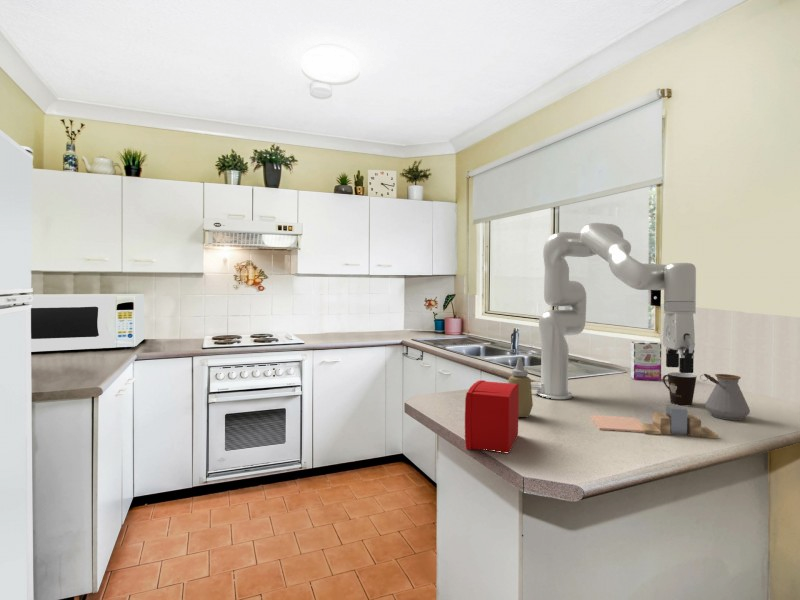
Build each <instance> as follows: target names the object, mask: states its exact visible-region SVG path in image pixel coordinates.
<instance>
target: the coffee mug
mask: <svg viewBox="0 0 800 600" xmlns="http://www.w3.org/2000/svg"><path fill="white" fill-rule="evenodd" d="M666 378H667V380H668V383H667V382H666ZM696 381H697V375H696V374H694V373H680V372H668V373H667V374H665V375H663V377H662V382H663V384H664V386H665V387H666V388H667V389H668V391H669V398H670V403H671V404H673V403H674V404H673V405H676V404H678V405H677V406H683V405H690V406H693V400H694V394H695V391H696V390H695V388H696Z"/></svg>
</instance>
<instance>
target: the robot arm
mask: <svg viewBox="0 0 800 600" xmlns="http://www.w3.org/2000/svg"><path fill="white" fill-rule="evenodd" d="M542 249H543V252H542V254H543V255H542V257H543V264H544V280H543V281H544V282H543V298H544V301H545V304H546V305H548V306H550V307H564V309H552V310H547V311H545V312H543V313H542V314H541V315H540V317H539V319H538V327H539V332H540V340H541V341H540V342H541V345H540V347H541V348H540V349H541V350H540V353H541V355H540V356H541V357H540V358H541V360H540V361H541V362H540V369H541V370H540V380H539V382H536V383H531V390H535V391H536V393H537V394H538V395H540V396H542V397H541V398H543V397H546V398H545V399H549V398H551V399H550V400H569V399H571V398H573V393H572V392H571V391H569V355H570V354H569V344H568V342H567V340H566V338H565V337H566V336H575V335H577V336H578V335H579V334H580V333H582V332H583V331H584V329H585V326H586V321H587V320H586V319H587V317H586V316H587V292H586V289H585V287H584V285H583V284H582V283H581V282H579V281H577V280H570V268H569V264H568V261H567V260H566V259H565V258H566V257H575V258H587V257H588V258H589V257H592V256H593V257H594V256H596V255H598V256H599V257H600V258H602V259H603V260H604V261H605V262H607V263H608V267H609V268H610V271H611V273H612V274H613V275H614V276H615V278H617V279H618V280H620V281H621V282H623V284H625V285H627V286H628V287H629V288H632V289H634V290H640V291H648V290H649V291H650V290H651V291H662V290H663V313H664V318H663V319H664V320H663V332H662V333H663V334H662V345H663V347H665V366H666V367H667V368H678V369H679V371H678V373H688V374H694V358H695V346H696V343H695V342H696V341H695V337H696V336H695V335H696V334H695V320H694V315H695V314H696V311H697V309H696V305H697V304H696V301H697V300H696V299H697V298H696V297H697V295H696V294H697V291H696V290H697V289H696V288H697V286H696V285H697V269H696V268H697V267H696V265H695V264H693V263H691V262H690V263H689V262H675V263H674V262H673V263H668V264H663V263H662V264H661V263H642V262H640V261H638V260H636V259H635V258H633V256H631V255H630V253H631V251H632V250H631V249H632V245H631V242H629V241H628V240H627V239H625V238H624V233H623V230H622V228H620V227H619V226H618V225H616V224H612V223H605V222H604V223H601V222H592V223H589V224H586V225H584V227H583V228H582V229H581V230H580V232H572V231H570V232H569V231H566V232H565V231H562V232H555V233H554V234H551V235H550V236H549V237H548V238H547V239H546V240H545V243H544V246H543V248H542ZM537 394H536V395H537ZM538 395H537V396H538ZM540 396H539V397H540Z"/></svg>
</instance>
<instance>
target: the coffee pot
mask: <svg viewBox="0 0 800 600" xmlns="http://www.w3.org/2000/svg"><path fill="white" fill-rule="evenodd" d="M702 376H704V377H705V378H706V379H704V380H703V381H704V382H705V381H708V380H709V381H710V382H712V383H714V384H715V386H714V388H713V390H712V391H711V393H710V394H709V397H708V399H707V400H706V401H705V403H704V406H705V408H706V410H707V412H708V413H710V414H711V416H713V417H715V418H717V419H722V420H728V421H741V420H742V419H744V418H746V417H747V416H748V415H750V411H751V409H750V407H749V405H748V402H747V401H746V398H745V396H744V394H743V391H742V390H741V388H740V386H739V381H740V380H741V376H739V375H734V374H727V373H715V374H714V376H715V377H716V378H714V377H713V376H711V375H710V374H707V373H704V374H701V375H700V376H699V378H700V380H702Z"/></svg>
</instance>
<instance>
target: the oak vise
mask: <svg viewBox="0 0 800 600" xmlns="http://www.w3.org/2000/svg"><path fill="white" fill-rule="evenodd" d="M652 414H653V416H652V423H647V422H645V423H644V422H641V423H637V424H638V425H639V426H640V427H641V428H642V429H643V430H644V434H645V433H649V434H648V435H655V434H661V435H663V434H670V424H671V419H670V418H669V417H668V416H667V415H666V413H664V412H658V411H653V413H652ZM688 434H689V435H688ZM670 435H671V434H670ZM687 435H688V436H690V437H694V436H700V437H699V438H702V437H707V438H706V439H716V440H717V439H719V434H718V433H716V432H715V431H713V430H712V429H710V428H709V427H707V426H702V420H701V419H700V418H698V417H697V416H695V415H694V414H691V413H687Z"/></svg>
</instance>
